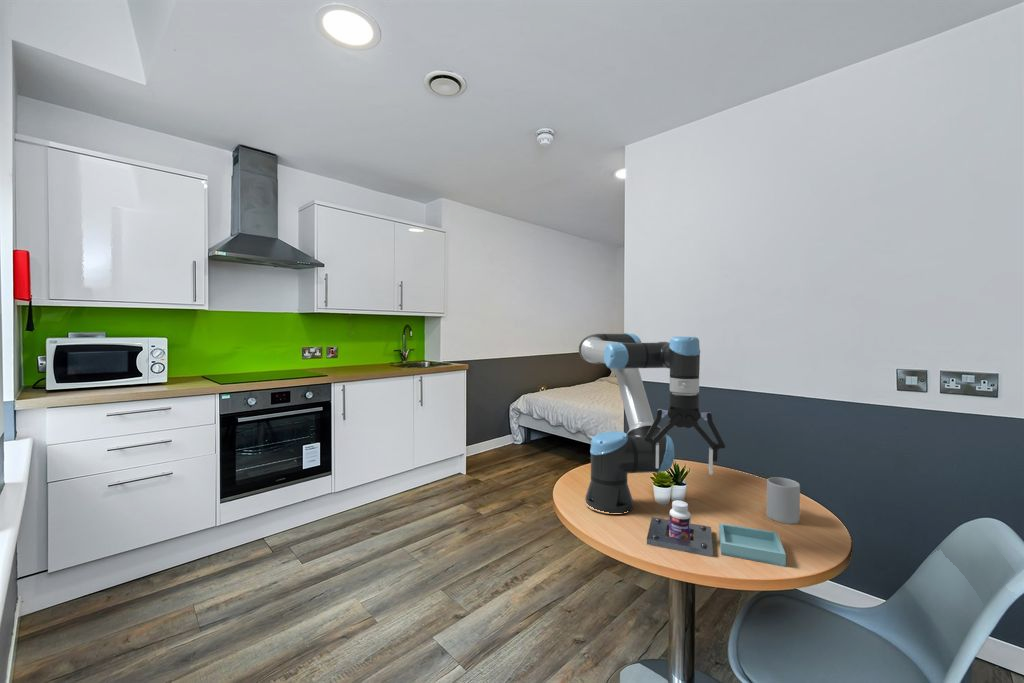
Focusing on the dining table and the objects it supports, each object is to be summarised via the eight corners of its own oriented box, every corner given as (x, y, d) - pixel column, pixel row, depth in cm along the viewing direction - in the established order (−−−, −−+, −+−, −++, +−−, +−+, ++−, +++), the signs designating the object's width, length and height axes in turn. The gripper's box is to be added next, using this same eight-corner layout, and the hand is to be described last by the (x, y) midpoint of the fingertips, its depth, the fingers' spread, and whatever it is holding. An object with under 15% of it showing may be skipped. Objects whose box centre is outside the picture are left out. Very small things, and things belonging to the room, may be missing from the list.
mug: (804, 525, 123) (805, 488, 123) (771, 522, 125) (771, 485, 125) (789, 508, 135) (790, 474, 134) (759, 505, 137) (760, 472, 137)
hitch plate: (646, 544, 113) (646, 536, 113) (651, 521, 126) (651, 515, 126) (712, 556, 107) (712, 549, 107) (711, 532, 120) (711, 525, 120)
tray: (721, 554, 108) (721, 542, 108) (718, 533, 119) (718, 522, 119) (785, 566, 102) (785, 554, 102) (776, 543, 113) (777, 532, 113)
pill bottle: (669, 541, 115) (669, 505, 115) (669, 531, 120) (669, 498, 120) (690, 544, 113) (691, 508, 113) (690, 535, 118) (690, 500, 118)
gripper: (635, 392, 117) (635, 468, 117) (737, 397, 108) (736, 480, 108) (637, 388, 124) (637, 460, 124) (733, 393, 115) (732, 470, 115)
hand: (683, 469), depth 116 cm, fingers open, 13 cm apart
